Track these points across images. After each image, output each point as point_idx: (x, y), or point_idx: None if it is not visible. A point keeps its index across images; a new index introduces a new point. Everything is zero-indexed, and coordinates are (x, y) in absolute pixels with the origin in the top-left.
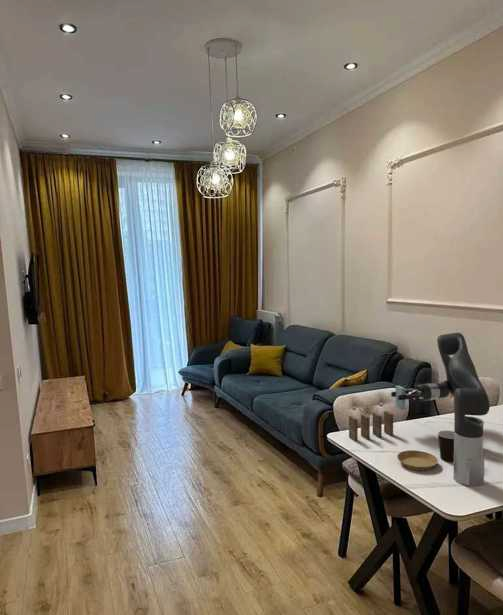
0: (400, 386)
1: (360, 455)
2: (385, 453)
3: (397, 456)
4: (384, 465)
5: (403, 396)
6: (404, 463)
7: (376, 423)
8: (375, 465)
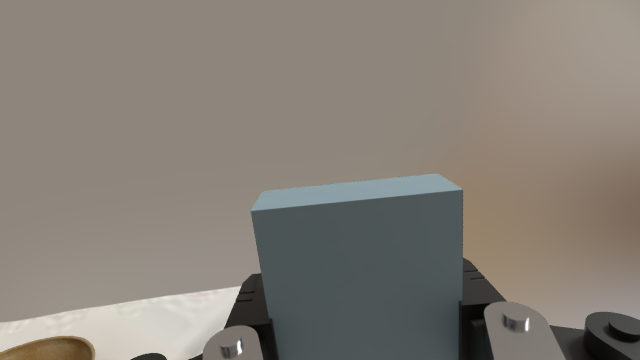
0: (383, 194)
1: (221, 291)
2: (174, 354)
3: (87, 341)
4: (122, 318)
5: (238, 298)
6: (38, 340)
7: None
8: (145, 301)
